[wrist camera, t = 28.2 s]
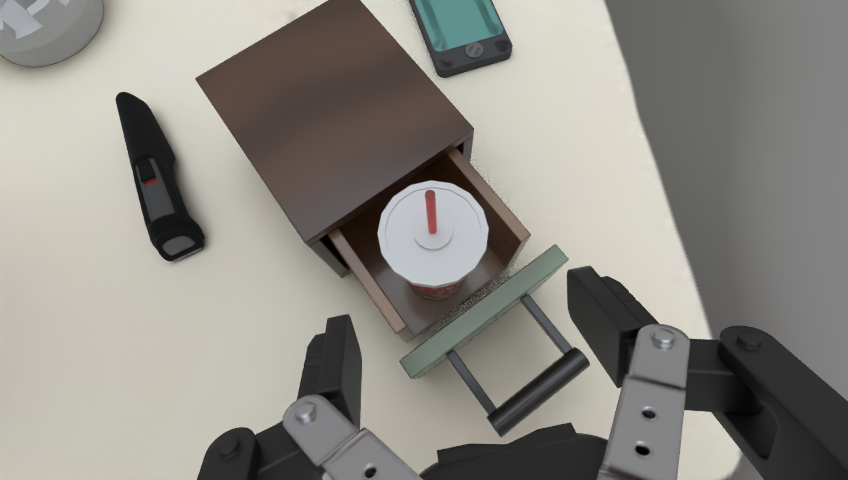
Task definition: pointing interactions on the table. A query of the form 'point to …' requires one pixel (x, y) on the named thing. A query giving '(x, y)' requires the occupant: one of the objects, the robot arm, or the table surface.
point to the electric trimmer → (157, 181)
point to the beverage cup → (433, 237)
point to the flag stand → (46, 29)
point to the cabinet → (333, 117)
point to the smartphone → (461, 34)
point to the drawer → (462, 291)
